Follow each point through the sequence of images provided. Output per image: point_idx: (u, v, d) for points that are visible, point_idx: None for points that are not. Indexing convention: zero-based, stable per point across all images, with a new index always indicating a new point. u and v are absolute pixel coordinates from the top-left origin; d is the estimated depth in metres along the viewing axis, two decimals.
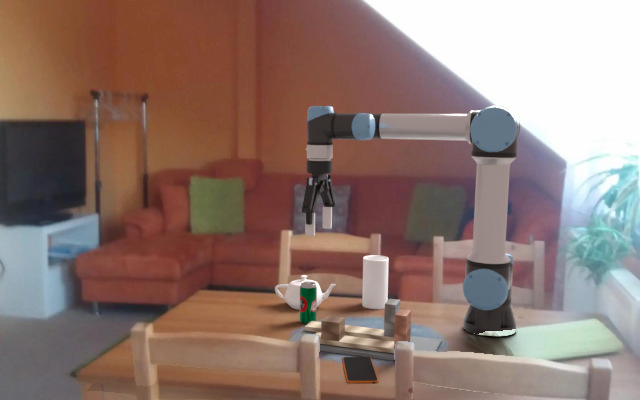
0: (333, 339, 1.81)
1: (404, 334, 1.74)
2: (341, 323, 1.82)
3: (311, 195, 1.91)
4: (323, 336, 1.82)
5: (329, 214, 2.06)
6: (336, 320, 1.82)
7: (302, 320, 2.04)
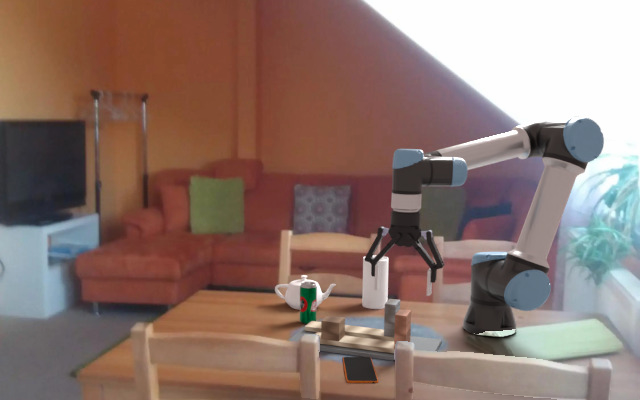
0: (333, 339, 1.81)
1: (404, 334, 1.74)
2: (341, 323, 1.82)
3: None
4: (323, 336, 1.82)
5: None
6: (336, 320, 1.82)
7: (302, 320, 2.04)
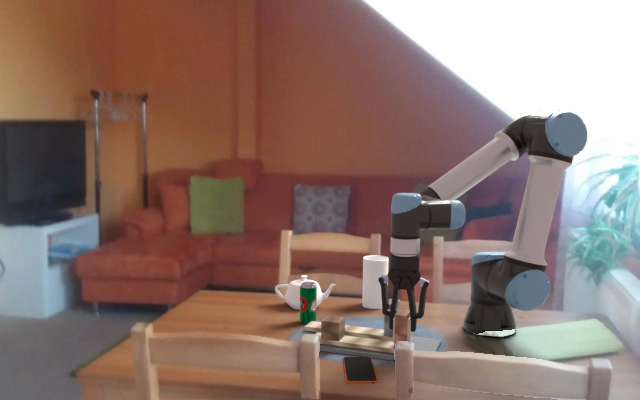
0: (333, 339, 1.81)
1: (404, 334, 1.74)
2: (341, 323, 1.82)
3: None
4: (323, 336, 1.82)
5: None
6: (336, 320, 1.82)
7: (302, 320, 2.04)
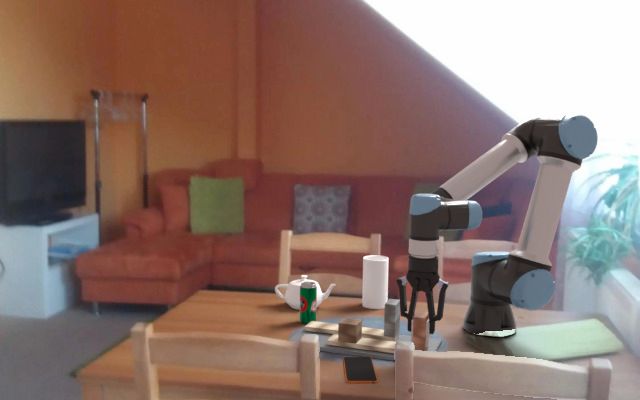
0: (350, 341, 1.80)
1: (423, 336, 1.73)
2: (358, 325, 1.80)
3: None
4: (340, 339, 1.81)
5: None
6: (353, 322, 1.81)
7: (302, 320, 2.04)
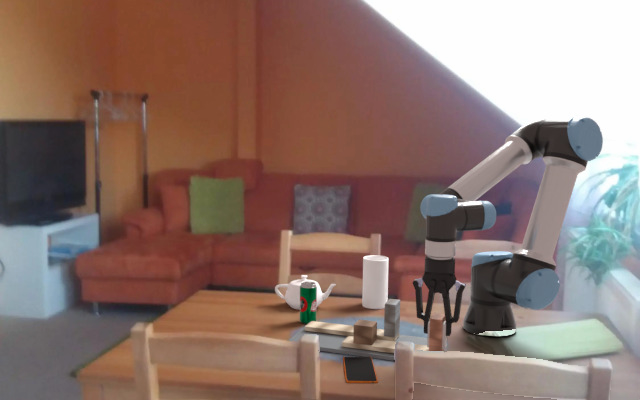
0: (366, 343, 1.78)
1: (439, 338, 1.71)
2: (373, 327, 1.79)
3: (416, 301, 1.74)
4: (355, 340, 1.79)
5: None
6: (368, 324, 1.79)
7: (302, 320, 2.04)
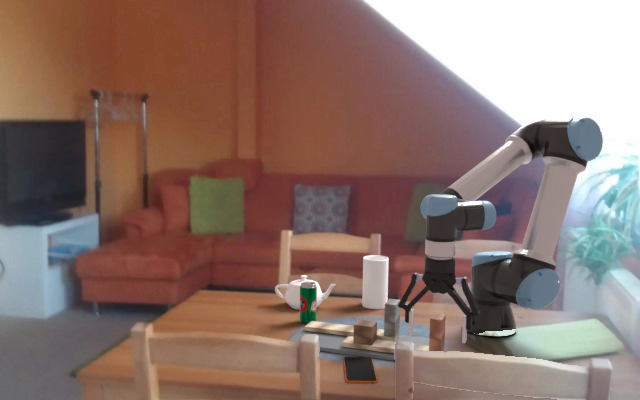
0: (366, 343, 1.78)
1: (439, 338, 1.71)
2: (373, 327, 1.79)
3: None
4: (355, 340, 1.79)
5: None
6: (368, 324, 1.79)
7: (302, 320, 2.04)
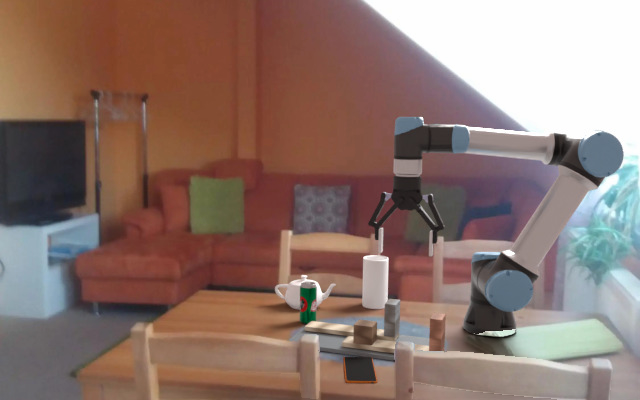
0: (366, 343, 1.78)
1: (439, 338, 1.71)
2: (373, 327, 1.79)
3: (375, 210, 1.84)
4: (355, 340, 1.79)
5: None
6: (368, 324, 1.79)
7: (302, 320, 2.04)
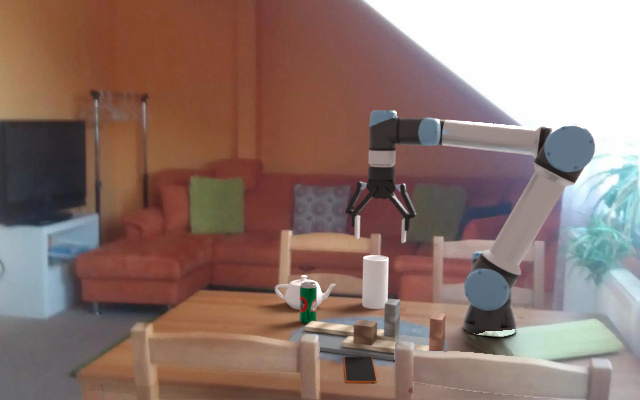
0: (366, 343, 1.78)
1: (439, 338, 1.71)
2: (373, 327, 1.79)
3: None
4: (355, 340, 1.79)
5: None
6: (368, 324, 1.79)
7: (302, 320, 2.04)
